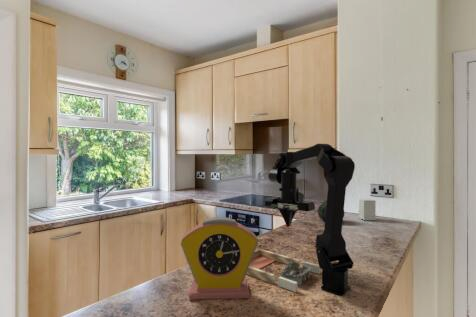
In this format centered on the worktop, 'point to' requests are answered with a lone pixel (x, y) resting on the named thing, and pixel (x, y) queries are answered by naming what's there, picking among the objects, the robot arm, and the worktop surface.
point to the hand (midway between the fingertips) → (288, 226)
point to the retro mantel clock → (219, 258)
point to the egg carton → (295, 272)
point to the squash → (323, 210)
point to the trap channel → (264, 259)
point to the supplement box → (367, 209)
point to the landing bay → (294, 285)
